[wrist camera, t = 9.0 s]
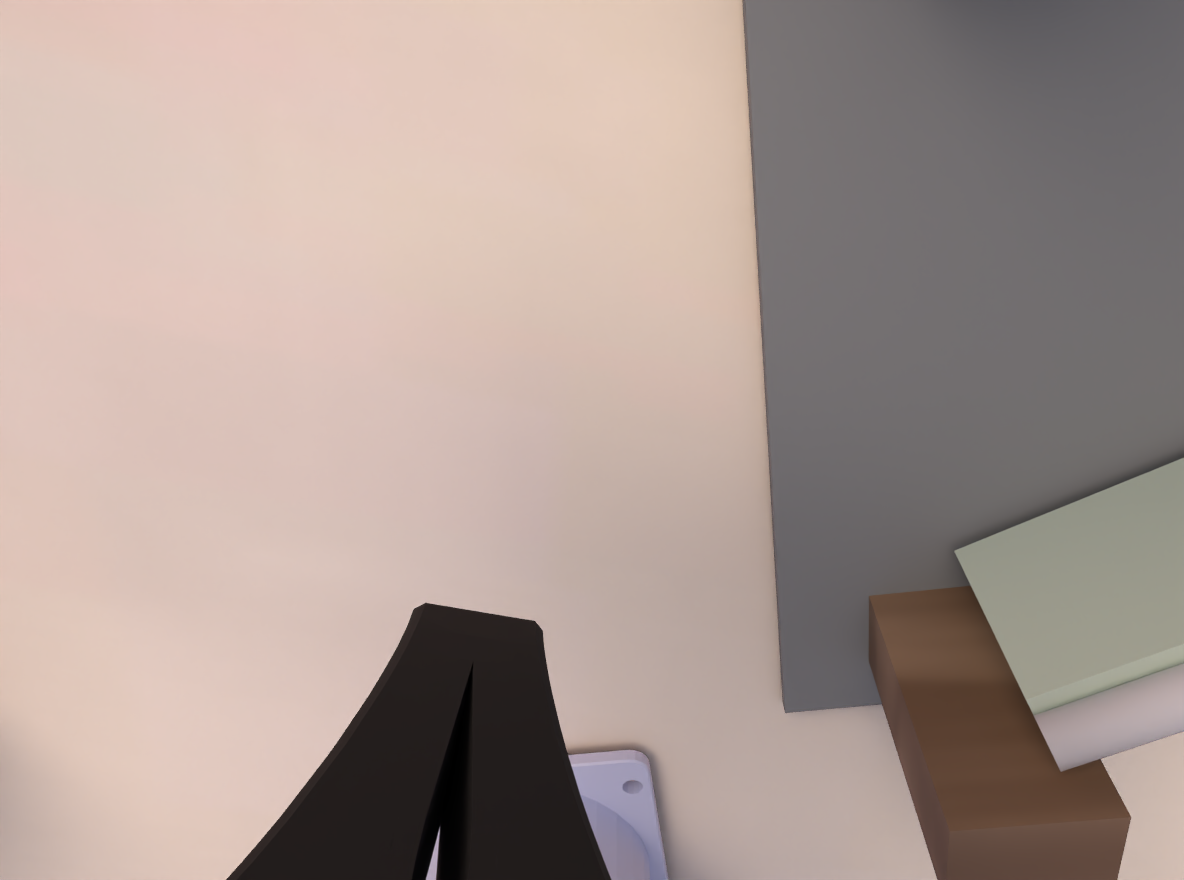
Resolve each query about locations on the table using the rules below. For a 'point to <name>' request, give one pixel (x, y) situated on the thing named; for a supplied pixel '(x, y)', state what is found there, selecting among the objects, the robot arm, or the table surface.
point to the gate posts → (984, 751)
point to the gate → (1093, 614)
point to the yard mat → (955, 287)
